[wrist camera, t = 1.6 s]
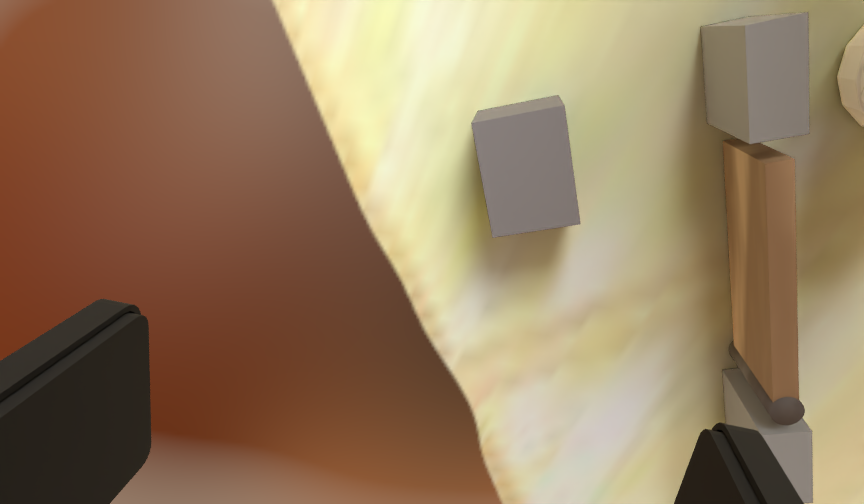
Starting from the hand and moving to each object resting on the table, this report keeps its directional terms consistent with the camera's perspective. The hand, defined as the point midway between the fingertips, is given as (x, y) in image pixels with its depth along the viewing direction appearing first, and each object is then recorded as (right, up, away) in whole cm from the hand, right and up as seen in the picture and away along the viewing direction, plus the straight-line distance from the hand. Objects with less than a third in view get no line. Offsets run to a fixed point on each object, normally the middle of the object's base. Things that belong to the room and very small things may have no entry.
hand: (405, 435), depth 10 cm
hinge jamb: (+20, -6, +28) cm, 35 cm away
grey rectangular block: (+6, +9, +24) cm, 27 cm away
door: (+18, +3, +24) cm, 31 cm away
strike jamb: (+16, +13, +21) cm, 30 cm away
